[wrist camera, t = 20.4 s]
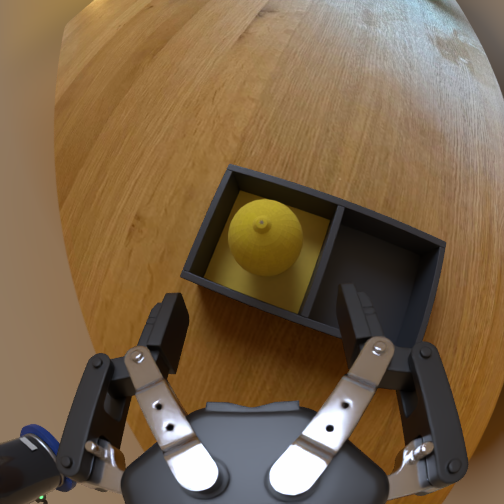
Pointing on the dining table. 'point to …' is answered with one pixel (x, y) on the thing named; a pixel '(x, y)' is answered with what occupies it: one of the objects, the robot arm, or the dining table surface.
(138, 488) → the robot arm
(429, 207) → the dining table surface
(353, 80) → the dining table surface
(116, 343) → the dining table surface
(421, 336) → the sorter
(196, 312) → the dining table surface
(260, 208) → the lemon
